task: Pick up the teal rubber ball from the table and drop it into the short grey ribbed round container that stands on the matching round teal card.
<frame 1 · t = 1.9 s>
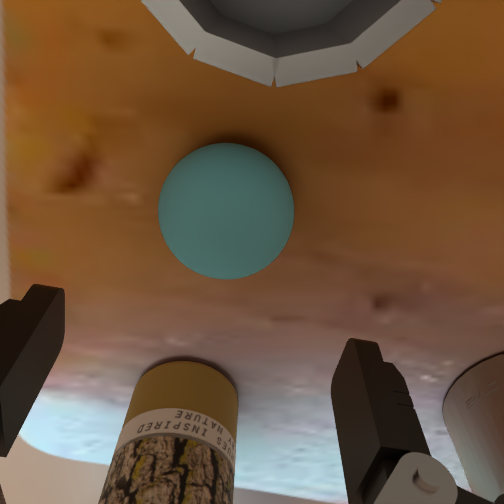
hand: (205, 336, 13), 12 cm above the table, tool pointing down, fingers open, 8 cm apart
ball: (226, 211, 21), point 3 cm above the table
bark textured cylinder: (187, 391, 31), on the table
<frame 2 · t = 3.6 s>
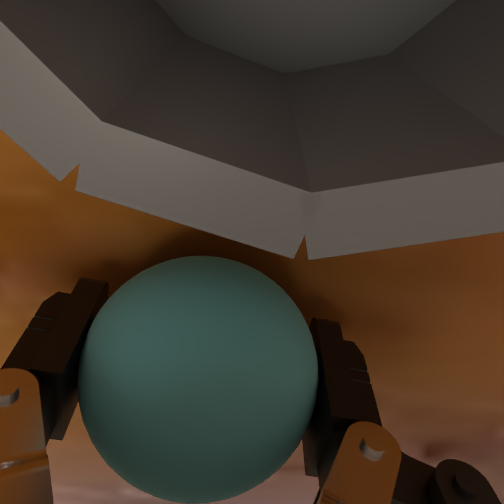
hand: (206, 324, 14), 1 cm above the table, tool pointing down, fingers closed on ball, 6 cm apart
ball: (201, 371, 12), point 3 cm above the table, touching gripper
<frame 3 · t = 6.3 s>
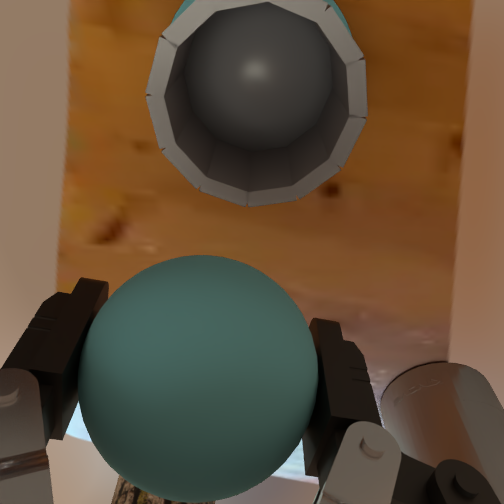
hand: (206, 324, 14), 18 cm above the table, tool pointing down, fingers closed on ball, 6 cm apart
ball: (201, 371, 12), point 20 cm above the table, touching gripper
bark textured cylinder: (185, 389, 41), on the table
grey ribbed round container: (258, 75, 28), on the table
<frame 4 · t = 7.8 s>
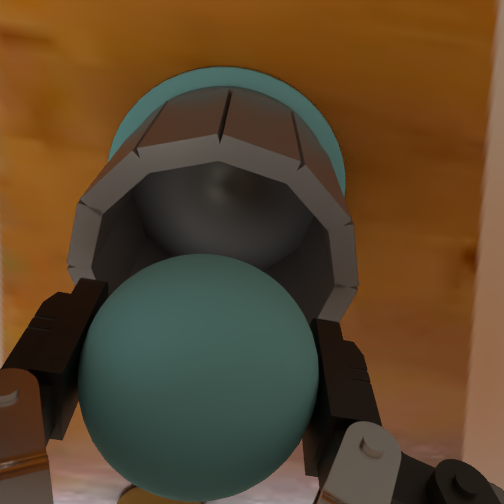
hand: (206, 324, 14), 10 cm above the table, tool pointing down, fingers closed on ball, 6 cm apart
ball: (201, 370, 12), point 12 cm above the table, touching gripper
bark textured cylinder: (162, 503, 36), on the table
grey ribbed round container: (226, 189, 23), on the table
when the fingers open (10 cm above the table, at t = 8.8 s): ball drops 7 cm, resting on grey ribbed round container.
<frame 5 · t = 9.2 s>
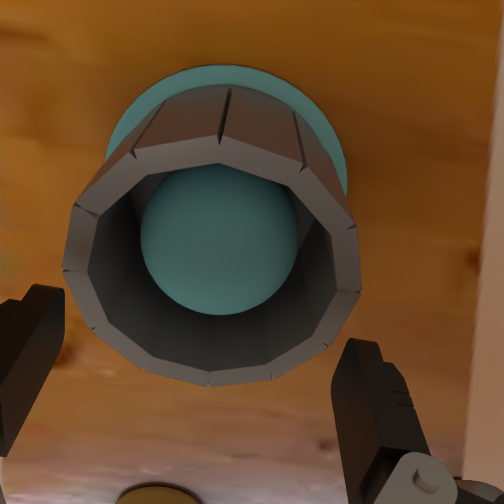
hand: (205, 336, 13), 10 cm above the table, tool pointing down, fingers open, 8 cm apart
ball: (220, 236, 18), point 4 cm above the table, touching grey ribbed round container
grey ribbed round container: (226, 189, 22), on the table
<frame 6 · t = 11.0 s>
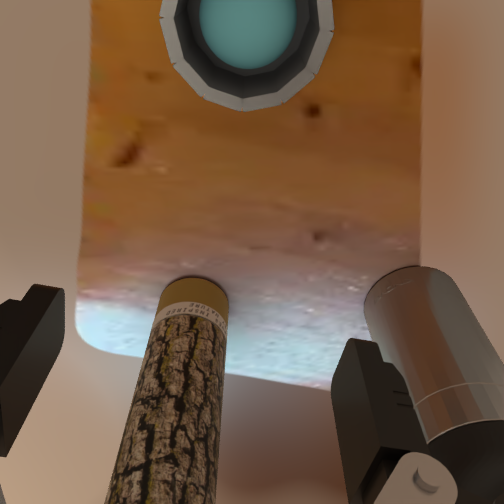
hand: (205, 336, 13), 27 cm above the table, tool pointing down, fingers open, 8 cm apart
ball: (248, 17, 29), point 4 cm above the table, touching grey ribbed round container
bark textured cylinder: (195, 300, 47), on the table
grey ribbed round container: (248, 10, 33), on the table
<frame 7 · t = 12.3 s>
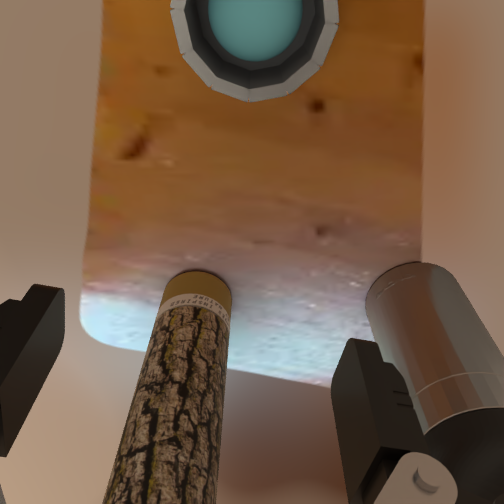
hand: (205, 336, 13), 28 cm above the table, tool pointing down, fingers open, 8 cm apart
ball: (255, 10, 30), point 4 cm above the table, touching grey ribbed round container
bark textured cylinder: (198, 294, 48), on the table
grey ribbed round container: (255, 6, 34), on the table
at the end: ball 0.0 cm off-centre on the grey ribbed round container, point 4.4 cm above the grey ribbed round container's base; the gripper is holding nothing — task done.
